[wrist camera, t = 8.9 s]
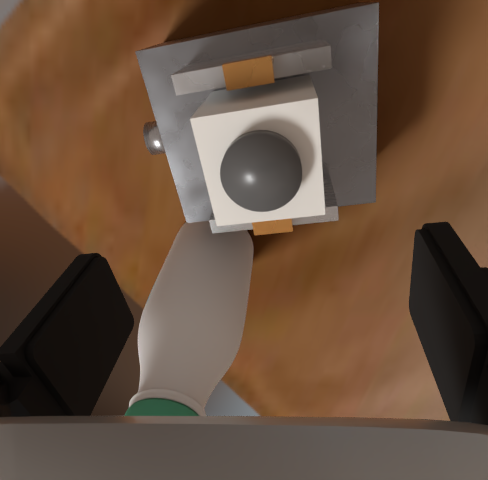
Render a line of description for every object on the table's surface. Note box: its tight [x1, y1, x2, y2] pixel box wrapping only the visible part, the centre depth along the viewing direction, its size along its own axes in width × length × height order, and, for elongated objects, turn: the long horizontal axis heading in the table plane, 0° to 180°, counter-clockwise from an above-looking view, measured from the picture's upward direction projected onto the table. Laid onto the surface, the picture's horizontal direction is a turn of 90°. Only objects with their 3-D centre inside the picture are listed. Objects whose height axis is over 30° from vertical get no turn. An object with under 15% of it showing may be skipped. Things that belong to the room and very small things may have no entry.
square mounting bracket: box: [136, 3, 379, 235], centre depth 24 cm, size 16×12×11 cm
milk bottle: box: [124, 221, 254, 416], centre depth 28 cm, size 8×8×20 cm
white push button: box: [190, 75, 325, 226], centre depth 21 cm, size 6×6×7 cm
